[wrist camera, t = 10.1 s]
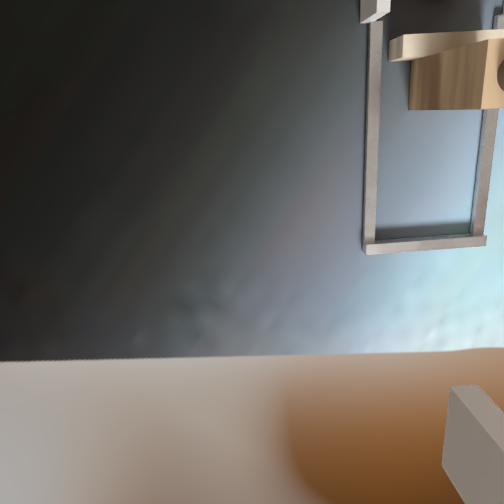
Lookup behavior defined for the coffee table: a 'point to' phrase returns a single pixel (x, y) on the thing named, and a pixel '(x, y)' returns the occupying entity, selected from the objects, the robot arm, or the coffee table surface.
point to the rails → (371, 165)
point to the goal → (375, 9)
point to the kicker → (453, 69)
